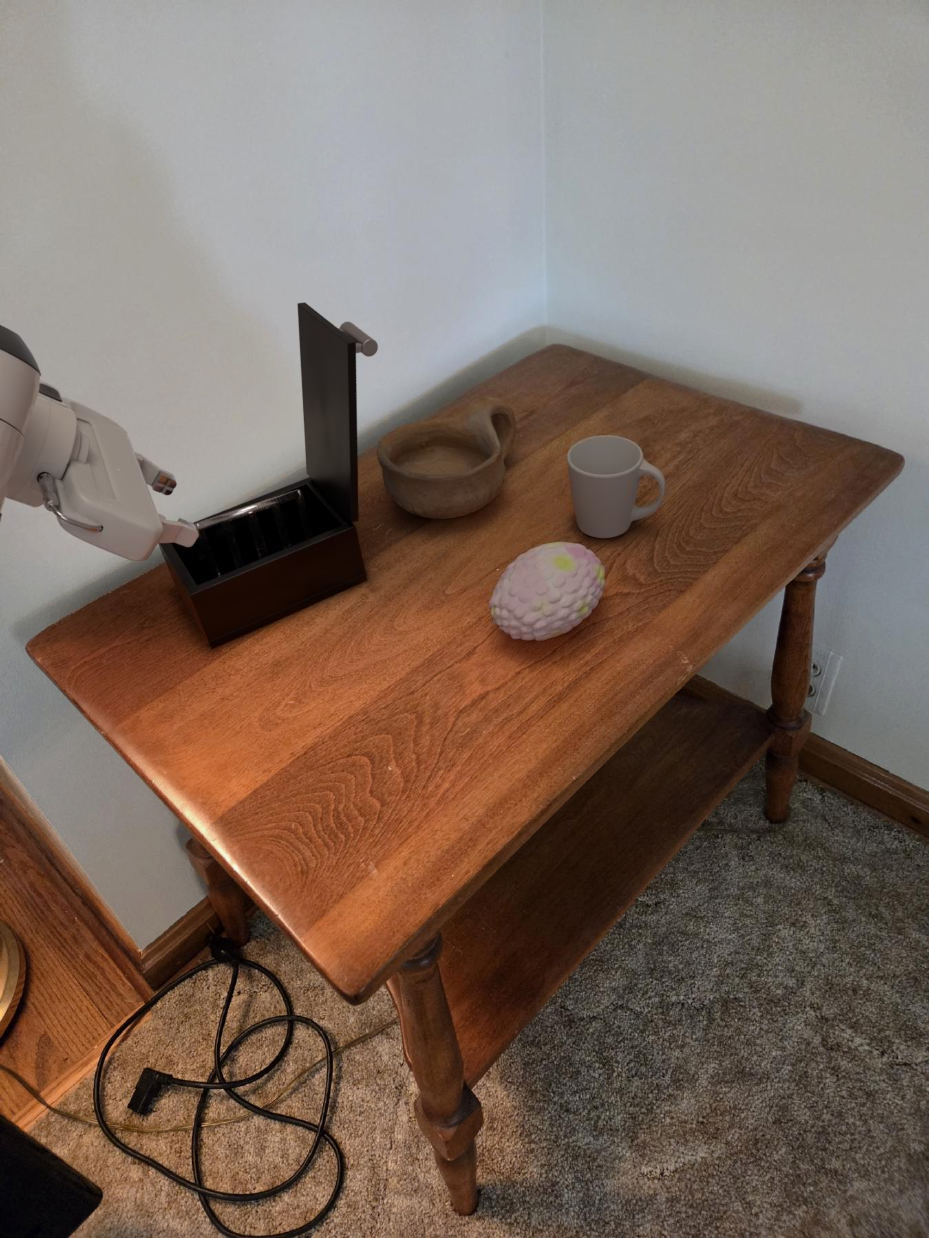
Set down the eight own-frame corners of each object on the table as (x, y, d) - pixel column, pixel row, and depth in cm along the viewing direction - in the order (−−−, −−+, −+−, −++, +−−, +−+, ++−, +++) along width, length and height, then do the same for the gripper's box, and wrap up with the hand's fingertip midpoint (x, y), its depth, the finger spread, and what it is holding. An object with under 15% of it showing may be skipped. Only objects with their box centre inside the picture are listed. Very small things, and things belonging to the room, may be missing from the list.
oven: (211, 649, 88) (189, 595, 83) (176, 590, 95) (155, 536, 90) (367, 580, 93) (355, 525, 88) (323, 529, 100) (310, 476, 96)
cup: (578, 498, 100) (577, 431, 95) (669, 510, 97) (674, 441, 91) (559, 539, 95) (557, 471, 89) (654, 553, 92) (659, 483, 86)
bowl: (430, 428, 111) (442, 358, 104) (531, 476, 109) (551, 408, 101) (350, 506, 100) (357, 435, 93) (460, 563, 97) (476, 494, 90)
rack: (222, 608, 90) (196, 536, 84) (213, 585, 93) (187, 514, 87) (327, 570, 93) (309, 498, 87) (315, 549, 96) (297, 478, 90)
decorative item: (461, 613, 81) (520, 518, 78) (497, 601, 91) (551, 517, 88) (543, 672, 79) (607, 578, 76) (570, 653, 89) (628, 569, 87)
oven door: (347, 343, 77) (393, 336, 79) (297, 303, 84) (340, 297, 86) (351, 523, 88) (391, 512, 90) (306, 473, 95) (344, 465, 97)
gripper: (65, 480, 68) (227, 542, 77) (37, 371, 82) (177, 434, 91) (28, 546, 69) (190, 599, 78) (7, 429, 83) (147, 485, 93)
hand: (183, 510), depth 85 cm, fingers open, 8 cm apart
